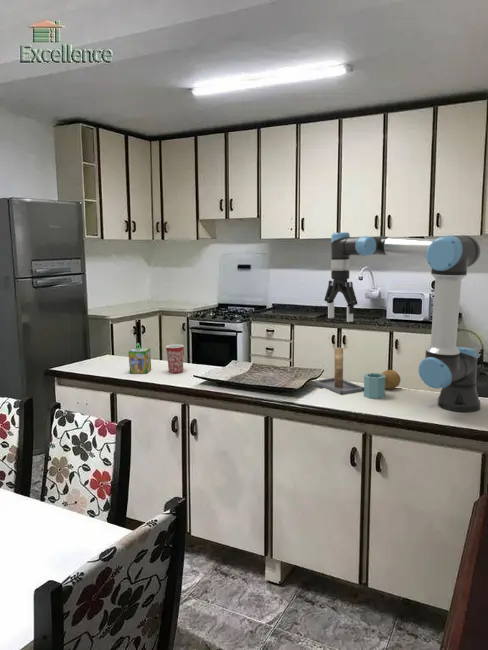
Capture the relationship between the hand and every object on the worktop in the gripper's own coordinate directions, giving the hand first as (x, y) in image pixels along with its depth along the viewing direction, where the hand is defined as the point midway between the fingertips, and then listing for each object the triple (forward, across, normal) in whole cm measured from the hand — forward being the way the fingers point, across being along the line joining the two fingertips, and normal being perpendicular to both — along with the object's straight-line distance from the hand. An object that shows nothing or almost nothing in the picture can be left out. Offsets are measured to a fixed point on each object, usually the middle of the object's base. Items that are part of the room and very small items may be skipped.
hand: (340, 319), depth 224 cm
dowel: (+29, 0, +1) cm, 29 cm away
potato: (+31, -10, -18) cm, 37 cm away
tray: (+31, 0, +1) cm, 31 cm away
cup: (+31, -18, -4) cm, 36 cm away
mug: (+31, +70, +51) cm, 92 cm away
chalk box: (+31, +79, +68) cm, 109 cm away
